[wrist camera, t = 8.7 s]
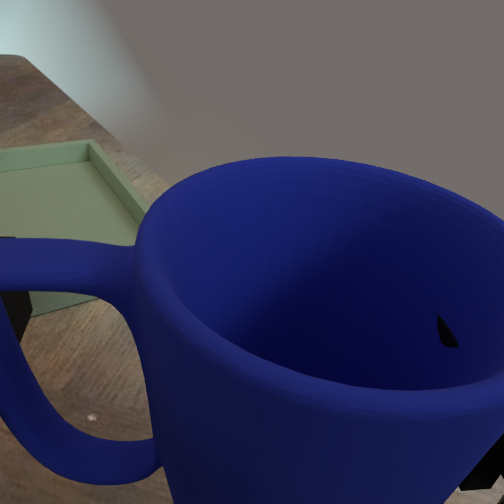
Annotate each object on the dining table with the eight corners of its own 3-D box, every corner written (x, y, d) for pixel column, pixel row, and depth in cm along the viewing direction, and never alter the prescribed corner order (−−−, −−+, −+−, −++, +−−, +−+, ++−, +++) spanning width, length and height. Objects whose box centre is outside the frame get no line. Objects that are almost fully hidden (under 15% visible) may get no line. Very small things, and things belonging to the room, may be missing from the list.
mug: (65, 388, 17) (10, 134, 12) (374, 395, 18) (457, 164, 13) (-38, 673, 11) (-278, 395, 5) (457, 659, 12) (711, 414, 6)
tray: (183, 275, 34) (184, 245, 32) (-109, 356, 25) (-126, 321, 24) (95, 162, 48) (93, 138, 47) (-109, 189, 40) (-119, 161, 38)
